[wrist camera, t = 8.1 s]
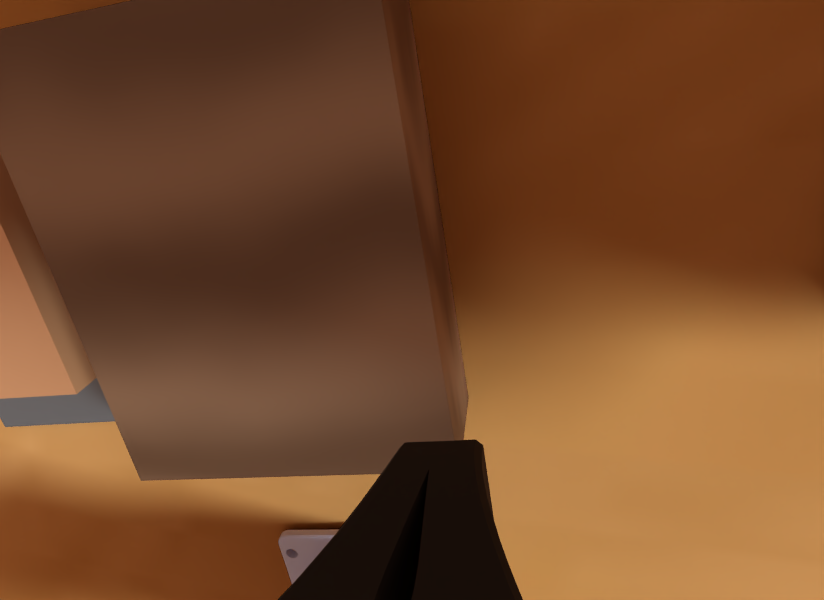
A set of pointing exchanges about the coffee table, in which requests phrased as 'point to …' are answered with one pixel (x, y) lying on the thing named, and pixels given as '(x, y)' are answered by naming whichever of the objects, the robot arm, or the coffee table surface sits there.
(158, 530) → the coffee table surface
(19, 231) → the tan rectangular brick
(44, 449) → the coffee table surface
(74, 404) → the mat
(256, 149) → the brown flat block
